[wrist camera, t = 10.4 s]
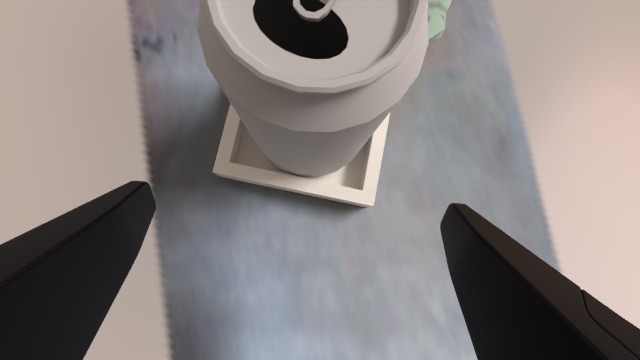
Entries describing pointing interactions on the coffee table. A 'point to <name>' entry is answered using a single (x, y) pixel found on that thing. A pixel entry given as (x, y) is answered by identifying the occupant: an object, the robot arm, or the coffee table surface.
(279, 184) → the tray
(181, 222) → the coffee table surface
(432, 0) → the green oval piece
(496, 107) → the coffee table surface
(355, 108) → the can
